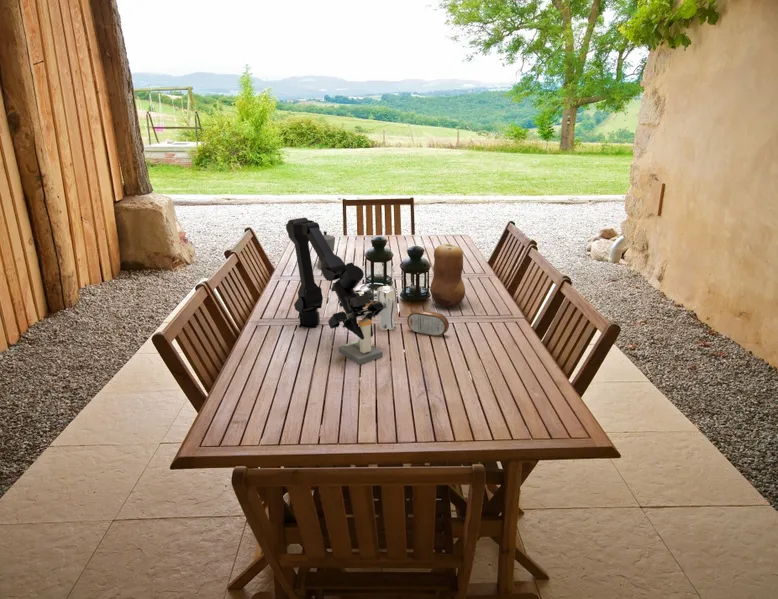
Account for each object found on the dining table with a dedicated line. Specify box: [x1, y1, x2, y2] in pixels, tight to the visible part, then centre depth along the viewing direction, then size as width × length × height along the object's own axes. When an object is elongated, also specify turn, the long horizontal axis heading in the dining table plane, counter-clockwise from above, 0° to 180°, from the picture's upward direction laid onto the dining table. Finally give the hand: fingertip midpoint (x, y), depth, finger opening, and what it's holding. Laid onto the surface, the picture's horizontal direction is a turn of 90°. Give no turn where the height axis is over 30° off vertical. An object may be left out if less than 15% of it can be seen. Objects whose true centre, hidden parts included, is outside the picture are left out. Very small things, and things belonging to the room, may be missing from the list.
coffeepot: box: [317, 231, 336, 271], centre depth 279 cm, size 15×9×18 cm, turn 178°
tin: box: [406, 309, 450, 337], centre depth 204 cm, size 15×3×8 cm, turn 65°
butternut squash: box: [429, 243, 466, 309], centre depth 228 cm, size 14×13×25 cm
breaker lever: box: [357, 318, 373, 353], centre depth 185 cm, size 2×4×11 cm, turn 128°
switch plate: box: [338, 339, 383, 365], centre depth 190 cm, size 12×9×2 cm
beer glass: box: [376, 285, 397, 329], centre depth 209 cm, size 7×7×15 cm
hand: (367, 337), depth 184 cm, fingers closed on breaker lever, 3 cm apart
